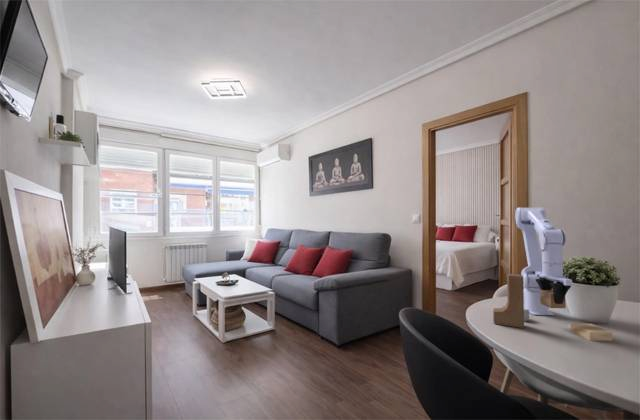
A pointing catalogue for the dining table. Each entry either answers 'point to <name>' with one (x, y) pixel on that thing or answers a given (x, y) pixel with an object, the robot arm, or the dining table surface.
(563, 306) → the walnut cube
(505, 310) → the wooden block
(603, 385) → the dining table surface
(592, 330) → the oak block
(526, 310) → the grey cube
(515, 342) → the dining table surface
